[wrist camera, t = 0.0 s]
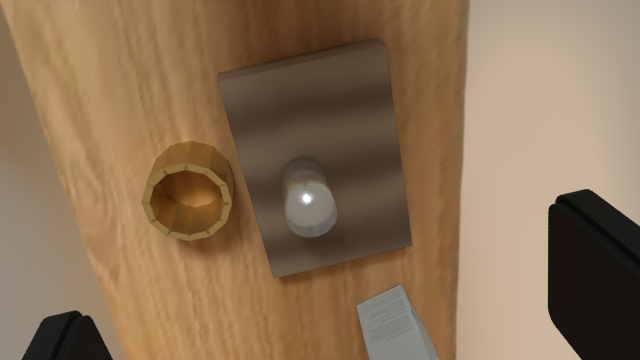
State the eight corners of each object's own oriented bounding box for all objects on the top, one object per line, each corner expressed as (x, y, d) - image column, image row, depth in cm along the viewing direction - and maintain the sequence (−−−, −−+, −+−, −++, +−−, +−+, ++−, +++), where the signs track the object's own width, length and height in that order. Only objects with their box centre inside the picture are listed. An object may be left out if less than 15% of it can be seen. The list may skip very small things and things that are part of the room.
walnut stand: (218, 73, 45) (217, 82, 42) (377, 37, 45) (385, 44, 42) (272, 261, 54) (273, 278, 51) (404, 230, 54) (412, 245, 51)
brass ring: (141, 152, 47) (130, 175, 42) (220, 134, 47) (217, 155, 43) (167, 219, 50) (159, 248, 45) (240, 202, 50) (240, 229, 46)
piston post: (275, 162, 46) (280, 198, 39) (320, 152, 46) (332, 186, 39) (285, 201, 47) (292, 242, 41) (328, 191, 48) (341, 230, 41)
